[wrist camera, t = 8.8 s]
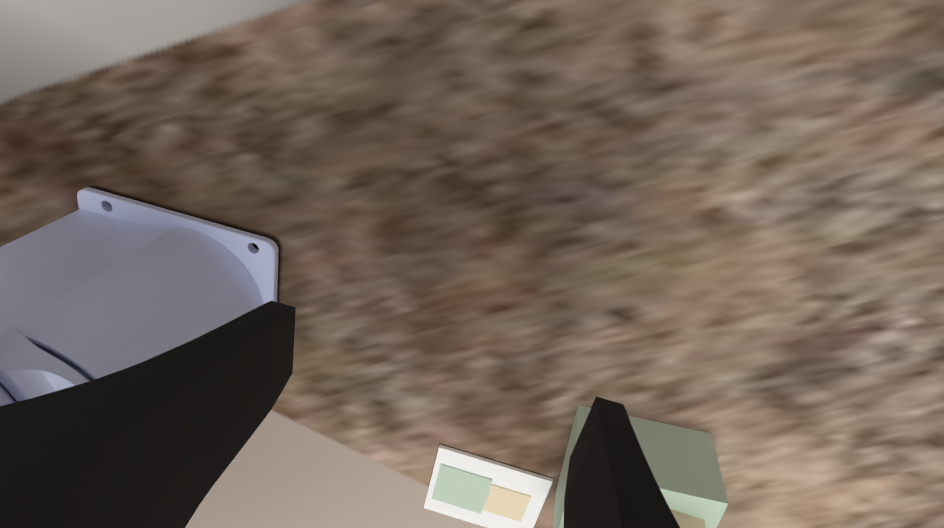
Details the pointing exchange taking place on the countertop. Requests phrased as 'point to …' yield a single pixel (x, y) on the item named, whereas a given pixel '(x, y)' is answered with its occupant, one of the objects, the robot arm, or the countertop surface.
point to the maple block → (687, 520)
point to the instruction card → (485, 490)
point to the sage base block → (666, 468)
